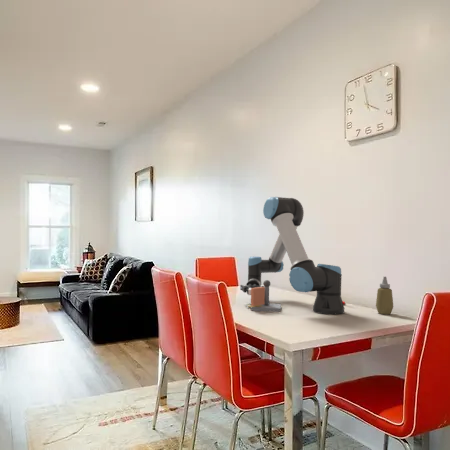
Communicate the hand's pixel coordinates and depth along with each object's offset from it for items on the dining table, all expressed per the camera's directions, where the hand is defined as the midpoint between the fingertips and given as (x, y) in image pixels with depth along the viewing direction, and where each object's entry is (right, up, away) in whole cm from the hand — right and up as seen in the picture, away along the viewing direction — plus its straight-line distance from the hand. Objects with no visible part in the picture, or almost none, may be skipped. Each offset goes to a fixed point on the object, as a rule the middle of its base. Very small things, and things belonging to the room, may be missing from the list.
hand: (249, 292), depth 212 cm
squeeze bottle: (+65, -10, -3) cm, 66 cm away
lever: (+5, -7, +2) cm, 9 cm away
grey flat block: (+7, -9, +5) cm, 12 cm away
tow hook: (+50, -10, +25) cm, 57 cm away
